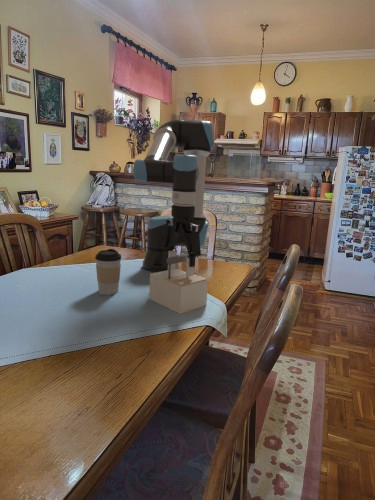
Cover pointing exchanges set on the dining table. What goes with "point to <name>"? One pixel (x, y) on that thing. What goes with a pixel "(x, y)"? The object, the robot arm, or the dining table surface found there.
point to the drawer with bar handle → (182, 279)
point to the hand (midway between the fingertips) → (180, 272)
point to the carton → (177, 292)
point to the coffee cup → (108, 271)
